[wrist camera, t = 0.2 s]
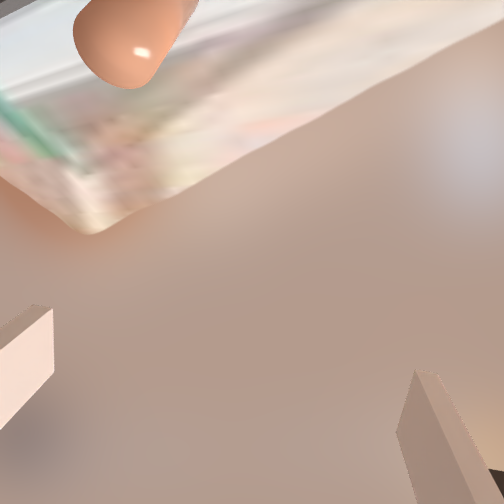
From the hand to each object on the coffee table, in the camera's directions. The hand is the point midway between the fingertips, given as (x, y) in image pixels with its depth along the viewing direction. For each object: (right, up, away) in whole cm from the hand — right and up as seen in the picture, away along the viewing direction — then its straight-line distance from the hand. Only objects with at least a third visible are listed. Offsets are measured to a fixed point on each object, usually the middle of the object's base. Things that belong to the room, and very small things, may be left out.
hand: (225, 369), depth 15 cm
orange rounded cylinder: (-7, +29, +24) cm, 39 cm away
